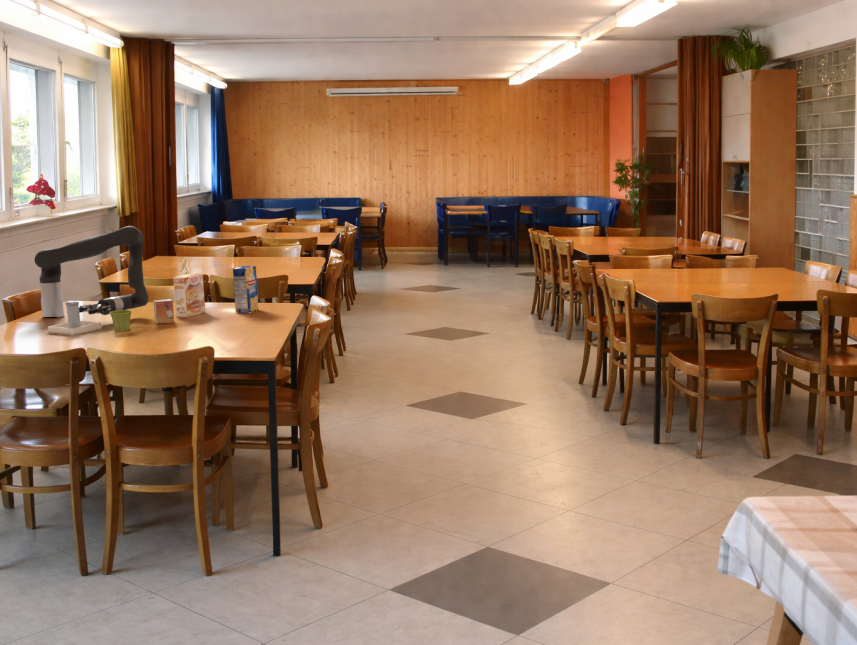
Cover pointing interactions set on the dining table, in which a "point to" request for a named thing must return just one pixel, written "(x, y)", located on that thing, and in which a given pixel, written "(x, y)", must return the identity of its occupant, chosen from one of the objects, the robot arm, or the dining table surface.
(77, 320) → the canister
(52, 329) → the dish
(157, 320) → the small box
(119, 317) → the plant pot
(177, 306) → the coffeecake box
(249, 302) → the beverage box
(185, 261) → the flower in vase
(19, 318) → the dining table surface
